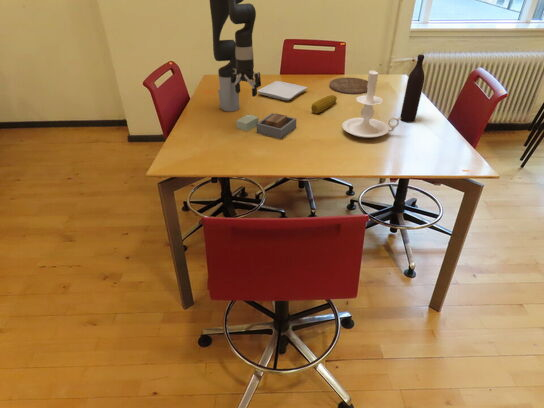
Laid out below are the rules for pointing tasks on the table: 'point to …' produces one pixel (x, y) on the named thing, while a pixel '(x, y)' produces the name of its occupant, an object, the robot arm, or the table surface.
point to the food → (323, 103)
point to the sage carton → (247, 122)
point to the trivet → (349, 85)
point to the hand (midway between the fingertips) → (246, 94)
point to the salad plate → (281, 90)
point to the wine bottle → (413, 92)
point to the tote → (274, 131)
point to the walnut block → (277, 120)
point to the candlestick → (368, 114)
